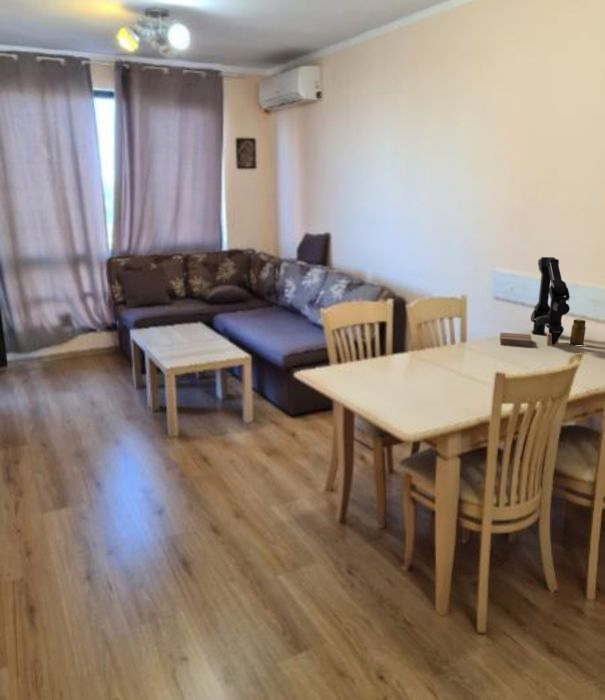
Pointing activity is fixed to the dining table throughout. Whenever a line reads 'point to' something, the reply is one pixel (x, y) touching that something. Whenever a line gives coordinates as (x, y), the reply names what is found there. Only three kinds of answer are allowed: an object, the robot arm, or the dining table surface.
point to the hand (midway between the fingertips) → (552, 342)
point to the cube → (550, 340)
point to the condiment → (578, 332)
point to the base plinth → (515, 339)
